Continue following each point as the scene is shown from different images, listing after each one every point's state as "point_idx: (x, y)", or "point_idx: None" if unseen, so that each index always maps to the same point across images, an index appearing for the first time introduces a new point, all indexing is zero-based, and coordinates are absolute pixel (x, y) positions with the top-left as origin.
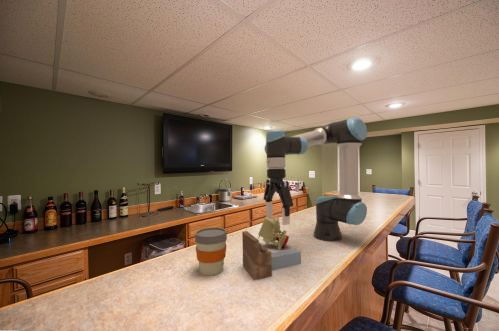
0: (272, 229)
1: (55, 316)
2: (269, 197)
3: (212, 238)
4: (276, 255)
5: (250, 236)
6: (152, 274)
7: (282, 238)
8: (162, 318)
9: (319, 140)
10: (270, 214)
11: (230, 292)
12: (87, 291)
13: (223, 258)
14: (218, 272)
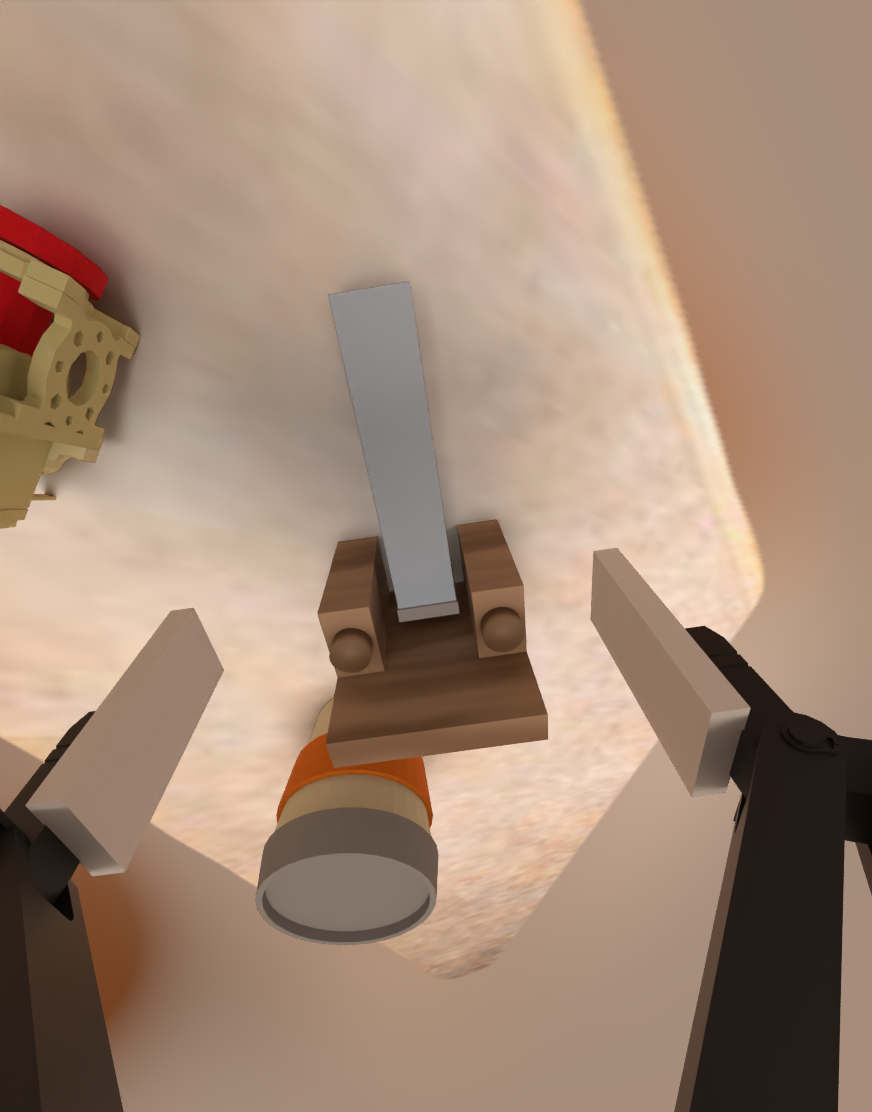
0: (12, 432)
1: (492, 932)
2: (78, 973)
3: (436, 886)
4: (424, 493)
5: (456, 741)
6: None
7: (83, 318)
8: (585, 805)
9: None
10: (193, 657)
11: (547, 679)
12: None
13: None
14: None
